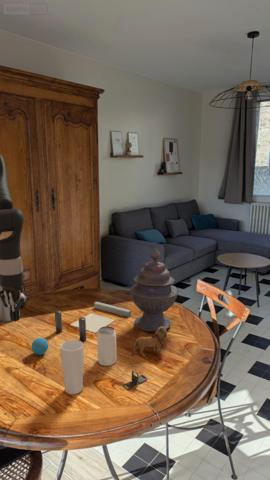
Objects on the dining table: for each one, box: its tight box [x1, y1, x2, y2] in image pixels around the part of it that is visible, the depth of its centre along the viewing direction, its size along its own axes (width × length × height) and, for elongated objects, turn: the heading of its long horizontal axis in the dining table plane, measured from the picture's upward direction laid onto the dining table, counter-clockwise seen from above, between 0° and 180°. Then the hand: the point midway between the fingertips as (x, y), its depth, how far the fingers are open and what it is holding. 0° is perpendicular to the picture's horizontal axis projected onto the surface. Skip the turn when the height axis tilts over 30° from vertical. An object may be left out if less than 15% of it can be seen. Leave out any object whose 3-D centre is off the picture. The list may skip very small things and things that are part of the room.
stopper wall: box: [93, 301, 132, 318], centre depth 162 cm, size 20×2×2 cm, turn 57°
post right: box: [78, 316, 87, 343], centre depth 135 cm, size 3×3×9 cm
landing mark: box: [70, 312, 116, 334], centre depth 151 cm, size 14×14×1 cm
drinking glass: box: [60, 339, 85, 395], centre depth 104 cm, size 7×7×15 cm
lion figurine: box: [130, 326, 168, 357], centre depth 126 cm, size 15×5×9 cm, turn 116°
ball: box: [31, 337, 49, 356], centre depth 126 cm, size 6×6×6 cm
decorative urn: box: [129, 247, 179, 333], centre depth 145 cm, size 20×20×35 cm
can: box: [96, 325, 117, 367], centre depth 120 cm, size 6×6×12 cm
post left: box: [54, 309, 63, 334], centre depth 142 cm, size 3×3×9 cm
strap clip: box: [122, 369, 149, 391], centre depth 109 cm, size 8×3×4 cm, turn 130°
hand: (15, 320), depth 115 cm, fingers closed
